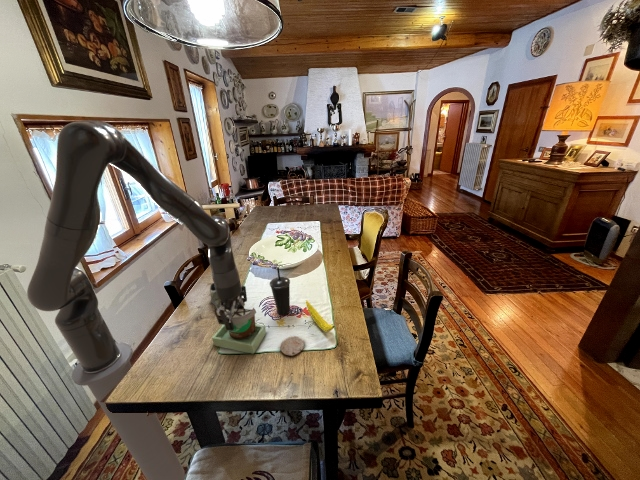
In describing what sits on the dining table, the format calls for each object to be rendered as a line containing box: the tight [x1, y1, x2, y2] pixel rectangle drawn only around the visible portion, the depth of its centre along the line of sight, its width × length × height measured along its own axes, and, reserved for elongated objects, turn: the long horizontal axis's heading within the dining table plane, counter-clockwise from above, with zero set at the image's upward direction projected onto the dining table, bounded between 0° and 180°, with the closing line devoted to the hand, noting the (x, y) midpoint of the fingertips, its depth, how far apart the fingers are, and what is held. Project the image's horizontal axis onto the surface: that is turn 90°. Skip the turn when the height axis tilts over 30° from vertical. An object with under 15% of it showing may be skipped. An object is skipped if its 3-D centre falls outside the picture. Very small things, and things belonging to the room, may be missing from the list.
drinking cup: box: [269, 266, 291, 316], centre depth 96 cm, size 8×8×20 cm
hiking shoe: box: [209, 282, 237, 309], centre depth 102 cm, size 8×21×9 cm, turn 47°
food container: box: [226, 307, 257, 340], centre depth 85 cm, size 12×6×10 cm, turn 81°
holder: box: [211, 323, 267, 355], centre depth 87 cm, size 15×9×4 cm, turn 75°
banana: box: [305, 300, 336, 332], centre depth 92 cm, size 3×19×6 cm, turn 32°
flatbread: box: [279, 335, 305, 357], centre depth 84 cm, size 8×8×1 cm
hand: (236, 322), depth 85 cm, fingers closed on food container, 6 cm apart
